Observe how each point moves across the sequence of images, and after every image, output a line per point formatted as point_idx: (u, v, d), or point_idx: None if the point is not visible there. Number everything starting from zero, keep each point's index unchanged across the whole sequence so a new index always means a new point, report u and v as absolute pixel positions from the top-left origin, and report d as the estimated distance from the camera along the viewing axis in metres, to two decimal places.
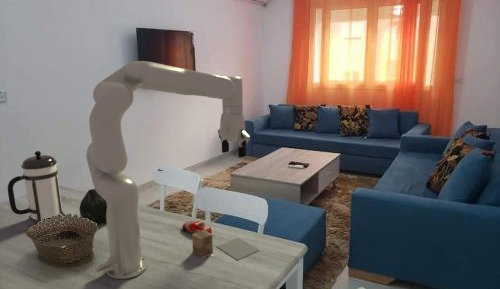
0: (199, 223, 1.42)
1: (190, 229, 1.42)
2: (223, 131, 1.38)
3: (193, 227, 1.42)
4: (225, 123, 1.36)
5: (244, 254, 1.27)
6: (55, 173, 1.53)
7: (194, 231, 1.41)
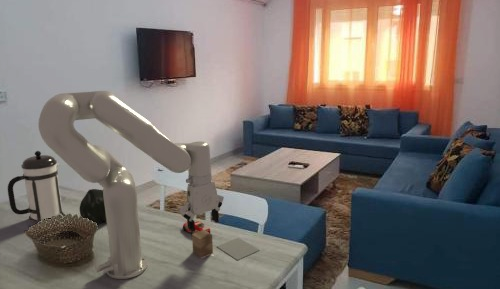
0: (198, 223, 1.42)
1: (189, 229, 1.42)
2: (200, 205, 1.21)
3: None
4: (203, 195, 1.21)
5: (244, 254, 1.27)
6: (55, 173, 1.53)
7: None
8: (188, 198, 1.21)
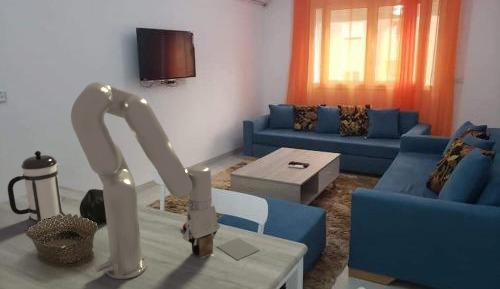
0: None
1: None
2: (200, 229, 1.23)
3: None
4: (203, 219, 1.23)
5: (244, 254, 1.27)
6: (55, 173, 1.53)
7: None
8: (188, 222, 1.23)
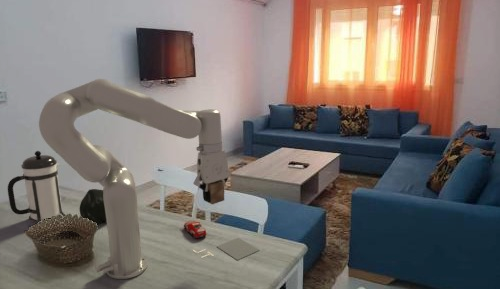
0: (196, 224, 1.42)
1: (187, 228, 1.43)
2: (211, 174, 1.19)
3: (190, 227, 1.42)
4: (214, 163, 1.19)
5: (244, 254, 1.27)
6: (55, 173, 1.53)
7: (190, 231, 1.41)
8: (199, 167, 1.19)
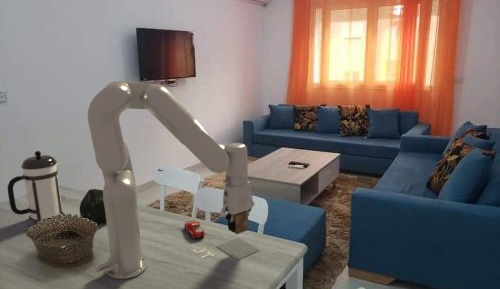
0: (195, 224, 1.41)
1: (187, 228, 1.43)
2: (236, 205, 1.23)
3: (189, 226, 1.42)
4: (239, 195, 1.23)
5: (244, 254, 1.27)
6: (55, 173, 1.53)
7: (189, 231, 1.41)
8: (225, 198, 1.23)
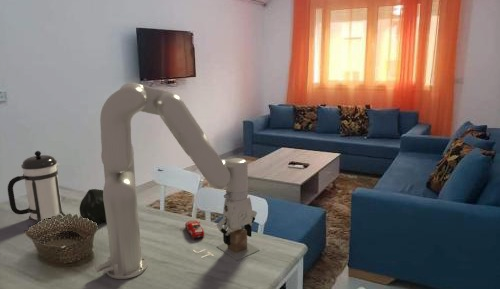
0: (195, 224, 1.41)
1: (187, 228, 1.43)
2: (236, 220, 1.25)
3: (189, 226, 1.42)
4: (239, 210, 1.25)
5: (244, 254, 1.27)
6: (55, 173, 1.53)
7: (189, 231, 1.41)
8: (225, 213, 1.24)
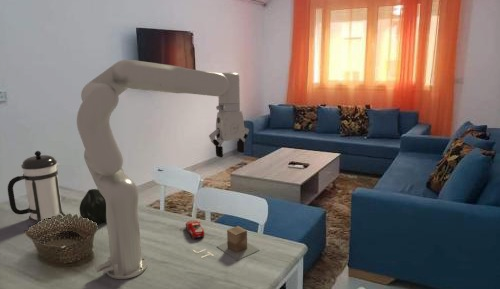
0: (195, 224, 1.41)
1: (187, 228, 1.43)
2: (229, 132, 1.29)
3: (189, 226, 1.42)
4: (232, 122, 1.29)
5: (244, 254, 1.27)
6: (55, 173, 1.53)
7: (189, 231, 1.41)
8: (218, 125, 1.28)
